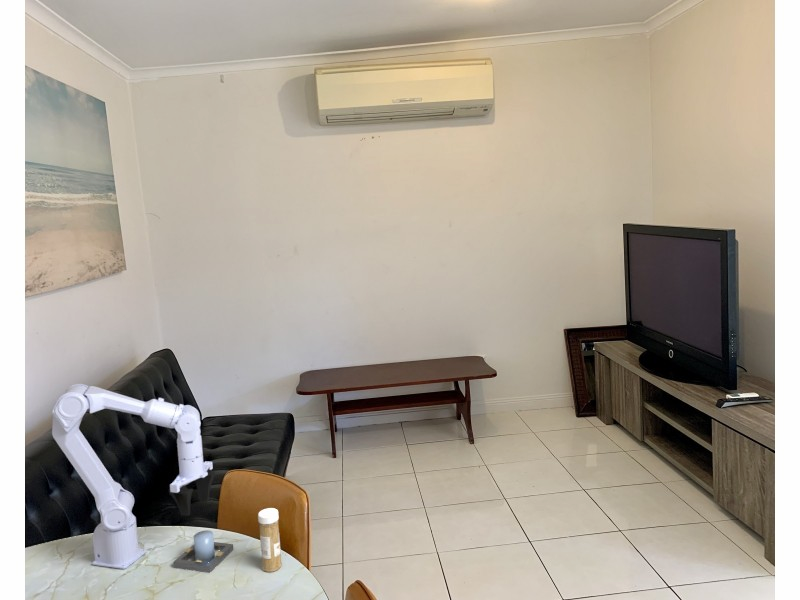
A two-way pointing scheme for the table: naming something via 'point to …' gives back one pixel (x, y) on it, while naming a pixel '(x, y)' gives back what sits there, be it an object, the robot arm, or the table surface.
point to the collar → (201, 566)
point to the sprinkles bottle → (270, 539)
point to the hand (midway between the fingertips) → (194, 507)
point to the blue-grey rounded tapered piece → (204, 546)
